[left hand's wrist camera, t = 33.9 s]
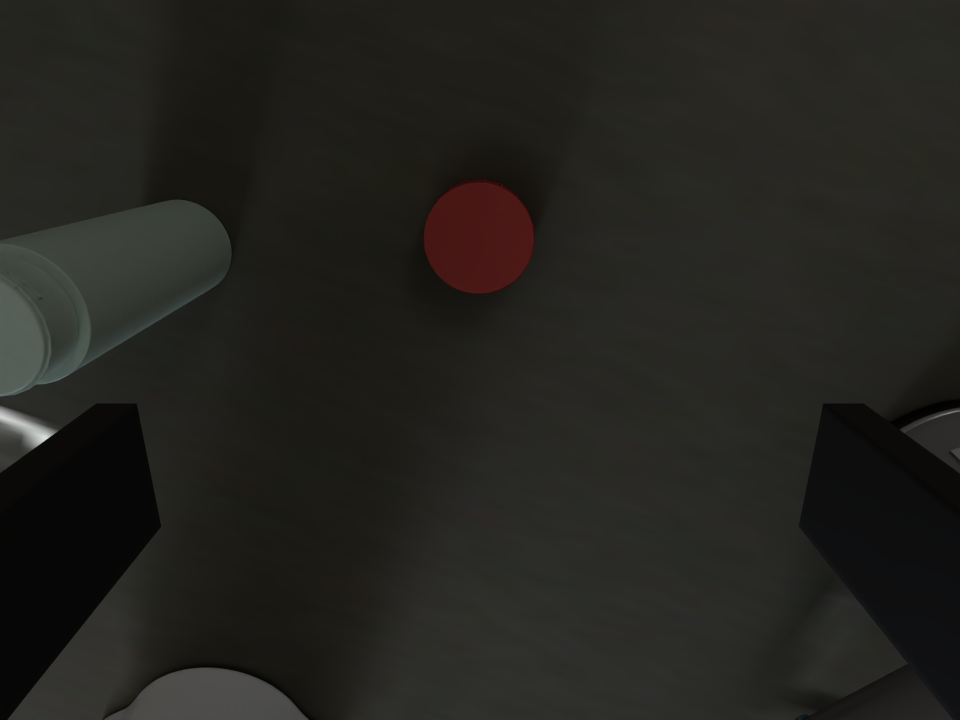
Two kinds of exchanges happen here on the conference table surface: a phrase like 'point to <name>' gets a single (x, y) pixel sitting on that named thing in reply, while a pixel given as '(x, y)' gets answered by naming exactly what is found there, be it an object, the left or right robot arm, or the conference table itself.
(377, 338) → the conference table surface
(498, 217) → the lid
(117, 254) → the jar
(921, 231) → the conference table surface
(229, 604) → the conference table surface
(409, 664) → the conference table surface
